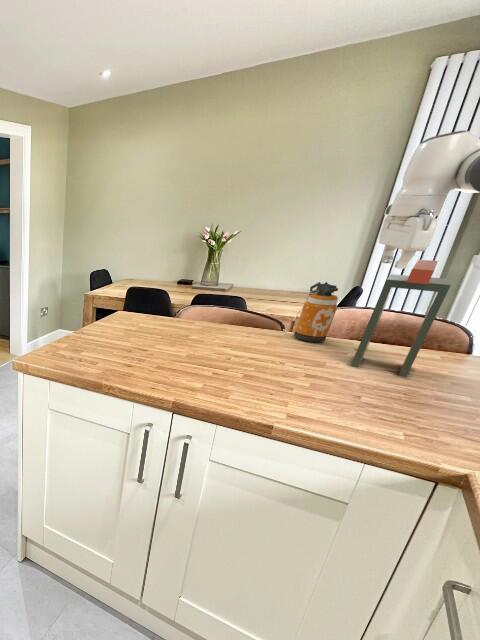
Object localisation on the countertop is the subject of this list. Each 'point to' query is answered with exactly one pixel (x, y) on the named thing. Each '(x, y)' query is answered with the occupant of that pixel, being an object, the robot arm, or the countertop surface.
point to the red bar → (422, 271)
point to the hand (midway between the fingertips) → (392, 265)
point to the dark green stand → (434, 285)
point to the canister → (317, 313)
